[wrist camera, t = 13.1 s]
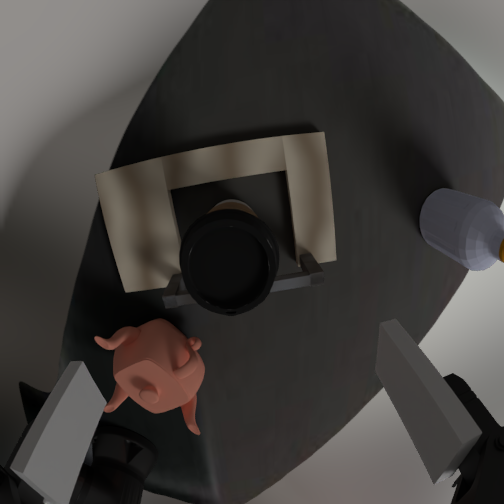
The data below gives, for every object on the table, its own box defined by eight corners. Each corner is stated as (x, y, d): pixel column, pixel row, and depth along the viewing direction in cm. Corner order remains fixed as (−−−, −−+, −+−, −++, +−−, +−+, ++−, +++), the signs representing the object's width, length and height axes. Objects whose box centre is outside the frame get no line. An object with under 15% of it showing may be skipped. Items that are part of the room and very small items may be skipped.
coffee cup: (200, 257, 38) (181, 320, 24) (195, 190, 35) (166, 219, 21) (267, 253, 38) (283, 315, 24) (265, 187, 35) (283, 213, 21)
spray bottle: (410, 241, 39) (535, 328, 15) (426, 180, 36) (570, 226, 13) (451, 251, 40) (563, 327, 16) (467, 196, 37) (592, 246, 13)
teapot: (205, 387, 46) (199, 439, 35) (122, 369, 44) (101, 415, 34) (219, 316, 41) (214, 368, 31) (121, 295, 39) (91, 339, 29)
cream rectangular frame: (129, 287, 39) (110, 315, 32) (99, 173, 34) (70, 180, 27) (332, 256, 39) (352, 279, 32) (320, 132, 33) (340, 128, 26)
